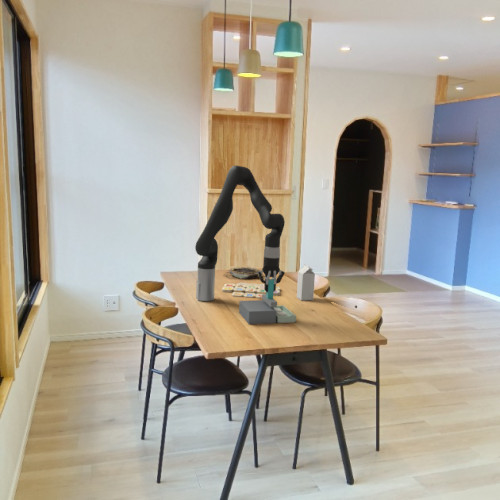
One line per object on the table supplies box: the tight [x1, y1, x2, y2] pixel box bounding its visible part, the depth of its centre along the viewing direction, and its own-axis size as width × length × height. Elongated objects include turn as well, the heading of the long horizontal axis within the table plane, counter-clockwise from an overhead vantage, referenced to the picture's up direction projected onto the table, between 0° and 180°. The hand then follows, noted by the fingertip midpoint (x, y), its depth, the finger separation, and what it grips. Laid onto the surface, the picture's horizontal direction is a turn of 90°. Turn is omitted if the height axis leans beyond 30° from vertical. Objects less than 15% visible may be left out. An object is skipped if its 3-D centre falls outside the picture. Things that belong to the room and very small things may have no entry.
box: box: [273, 304, 297, 324], centre depth 238 cm, size 9×18×3 cm, turn 15°
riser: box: [238, 299, 277, 325], centre depth 235 cm, size 13×18×6 cm
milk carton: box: [296, 263, 316, 301], centre depth 272 cm, size 7×7×19 cm
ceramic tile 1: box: [276, 312, 287, 316], centre depth 235 cm, size 4×4×2 cm
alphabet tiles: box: [221, 282, 281, 300], centre depth 286 cm, size 33×33×2 cm
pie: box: [226, 266, 261, 280], centre depth 324 cm, size 28×27×5 cm
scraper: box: [261, 278, 278, 307], centre depth 234 cm, size 3×14×12 cm, turn 15°
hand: (269, 291), depth 234 cm, fingers closed on scraper, 2 cm apart
